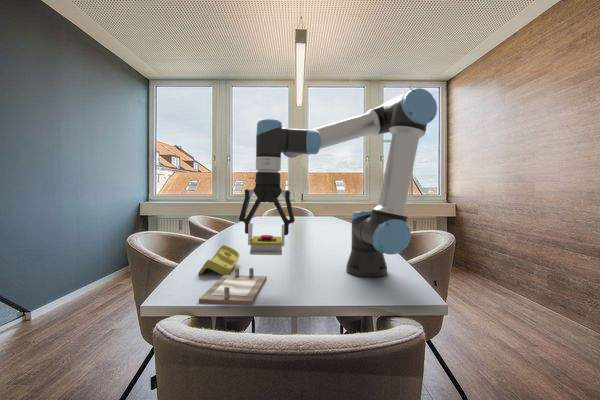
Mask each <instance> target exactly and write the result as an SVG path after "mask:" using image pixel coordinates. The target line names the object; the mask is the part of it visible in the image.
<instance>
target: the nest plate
mask: <svg viewBox="0 0 600 400" xmlns="http://www.w3.org/2000/svg"><path fill="white" fill-rule="evenodd" d="M248 270H249V272H248V273H249V275H245V274H244V275H242V274H241V275H240V267H238V266H237V267H234V274H233V275H232V274H228V275H222V276H221V277H220V278H219V279H218V280H217V281H216V282H215V283H214V284H213V285H212V286H210V288H209V289H207V291H205V292H204V293H203V294H202V295H201V296H200V297H198V298H199V299H198V303H200V304H201V303H203V304H205V303H206V304H225V305H226V304H227V305H228V304H230V305H231V304H232V305H233V304H234V305H253V304H254V302H255V300H256V298H257V297H258V295H259V293H260V292H261V289H262V288H263V286H264V285H265V283H266V281H267V278H268V276H266V275H255V274H254V272H255V271H254V267H249V269H248Z"/></svg>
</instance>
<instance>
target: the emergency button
mask: <svg viewBox="0 0 600 400" xmlns="http://www.w3.org/2000/svg"><path fill="white" fill-rule="evenodd" d="M281 238H282V236H273V235H270V234H263V235H256V236H255V235H254V236H252V241H251V245H250V250H249V255H251V256H255V255H256V256H282V255H283V248H282V247H283V246H282V243H281Z"/></svg>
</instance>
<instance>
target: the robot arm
mask: <svg viewBox="0 0 600 400" xmlns="http://www.w3.org/2000/svg"><path fill="white" fill-rule="evenodd" d="M437 112H438V105H437V101H436V99H435V98H434V96H433V94H432V93H431V92H430V91H428V90H427V89H424V88H421V87H420V88H419V87H418V88H413V89H410V90H407V91H405V92H404V93H403V94H400V95H398V96H396V97H394V98H392V99H390V100H388V101H386V102H384V103H383V104H381V105H379V106H377V107H374V108H371V109H368V110H367V112H366V113H363V114H361V115H356V116H353V117H349V118H346V119H343V120H340V121H336V122H332V123H328V124H326V125H322V126H319V127H318V126H317V127H315V128H312V129H309V128H308V129H303V128H302V129H301V128H288V127H283V124H282V121H281V120H279V119H274V118H262V119H260V120H258V121H257V123H256V134H255V137H256V138H255V141H256V142H255V171H257V172H255V184H254V185H255V186H254V188H253V189H252V188H251V189H249V188H246V189H245V190H244V199H243V203H242V207H241V209H240V213H239V217H238V218H239V219H238V221H239V222H243V223H244V233H245V234H246V235H247V246H251V241H252V239H253V227H254V225H253V224H254V223H253V222H252V221H251V220H252V219H253V217H254V216H255V213H256V212H257V210H258V209H259V206H260V205H261V203H273V204H274V205H275V208H276V210H277V212H278V214H279V216H280V218H281V220H282V222H283V223H282V224H281V243H282V247H285V244H286V241H285V240H286V236H288V234H289V231H290V230H289V229H290V225H291V224H293V223H295V220H296V218H295V215H294V211H293V206H292V201H291V190H282V188H281V173H280V172H281V170H282V168H281V166H282V165H281V164H282V154H283V155H284V156H285V157H287V158H292V159H293V158H298V157H299V156H301V155H308V156H309V155H316V154H317V155H318V153H319V152H320V150H322V149H324V148H329V147H332V146H335V145H338V144H339V145H340V144H341V143H346V142H349V141H351V140H356V139H359V138H362V137H364V136H368V135H373V136H378V135H382V134H387V133H390V134H391V140H390V145H389V150H388V155H387V160H386V165H385V170H384V175H383V179H382V185H381V188H380V195H379V198H378V203H377V205H376V206H375V207H372V209H371V210H362V211H354V212H353V213H352V214H351V215H352V216H351V220H350V221H351V249H350V254H349V257H348V260H347V262H346V270H345V271H346V272H347V274H351V276H356V277H357V276H358V277H360V278H361V277H362V278H380V277H383V276H386V275H387V274H388V266H387V265H388V264H387V262H386V259H385V255H397V254H399V253H401V252H402V251H404V250H405V249H406V248H407V247H408V245H409V244H410V241H411V237H412V235H411V233H412V232H411V229H410V228H409V225H408V224H407V223H408V217H409V216H408V214H407V212H406V211H405V208H406V203H407V199H408V194H409V189H410V184H411V178H412V173H413V170H414V165H415V159H416V155H417V150H418V146H419V141H420V139H421V138H423V137H424V136H425V135H426V131H427V126H428V124H429V123H431V122H432V121H433V120H434V119H435V118H436V115H437ZM253 194H254V195H255V197H256V200H255V201H254V204H253V206H252V207H251V209H250V210H249V212H248V214H247V211H248V208H249V204H250V201H251V197H252V196H253ZM281 194H282V197H283V198H284V200H285V204H286V209H287V213H288V217H289V219H288V217H287V215H286V213H285V211H284V209H283V207H282V205H281V203H280V201H279V197H280V196H281ZM246 215H247V216H246ZM384 254H385V255H384Z"/></svg>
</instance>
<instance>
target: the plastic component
mask: <svg viewBox="0 0 600 400" xmlns="http://www.w3.org/2000/svg"><path fill="white" fill-rule="evenodd" d="M240 256H241V255H240V253H239V251H237V250H236V249H234V248H232V247H230V246H229V245H227V244H222V245H221V246H220V247H219V249H218V250H217V252H216V253H215V254H214V256H213V257H212V258H211V259H207V260H206V261H205V262H204V264H203V266H202V267H201V269H199V272H198V275H203V274H204V272H206V271H207V270H208V269H210V270H212V271H213V272H216V273H218V274H219V275H222V276H224V275H230V273H231V272H232V270H233V269H234V268H235V266H236V264H237V263H238V261H239V258H240Z"/></svg>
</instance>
